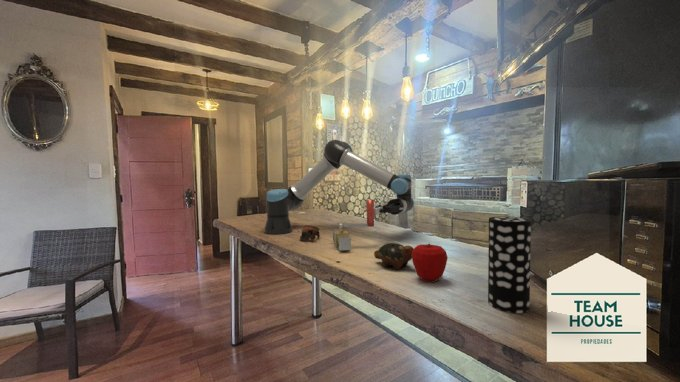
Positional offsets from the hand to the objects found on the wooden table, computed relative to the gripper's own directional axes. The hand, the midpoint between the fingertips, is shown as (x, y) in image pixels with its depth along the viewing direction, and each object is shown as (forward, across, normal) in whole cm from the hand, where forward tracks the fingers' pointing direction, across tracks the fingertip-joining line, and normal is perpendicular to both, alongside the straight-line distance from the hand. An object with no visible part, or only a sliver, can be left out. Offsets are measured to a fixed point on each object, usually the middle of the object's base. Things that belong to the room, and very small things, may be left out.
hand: (374, 211), depth 124 cm
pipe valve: (+8, +12, -15) cm, 21 cm away
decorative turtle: (+21, -18, -15) cm, 31 cm away
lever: (+5, +7, -6) cm, 10 cm away
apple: (+27, -31, -15) cm, 44 cm away
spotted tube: (+34, -52, -15) cm, 64 cm away
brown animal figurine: (+4, +32, -15) cm, 36 cm away
